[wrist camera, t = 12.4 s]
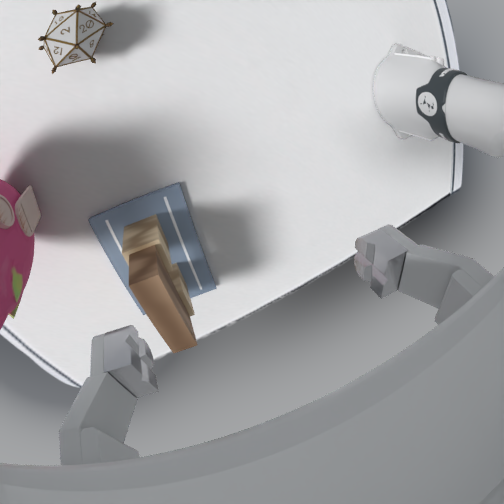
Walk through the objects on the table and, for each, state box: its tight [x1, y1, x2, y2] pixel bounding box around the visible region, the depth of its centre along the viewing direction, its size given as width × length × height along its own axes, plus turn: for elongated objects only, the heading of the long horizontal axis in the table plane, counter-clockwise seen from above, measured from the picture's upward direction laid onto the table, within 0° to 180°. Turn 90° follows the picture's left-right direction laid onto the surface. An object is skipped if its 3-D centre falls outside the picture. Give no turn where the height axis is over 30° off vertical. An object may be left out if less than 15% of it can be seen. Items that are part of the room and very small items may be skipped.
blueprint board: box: [89, 182, 216, 315], centre depth 42 cm, size 14×20×1 cm
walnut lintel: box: [129, 245, 197, 353], centre depth 34 cm, size 4×13×6 cm, turn 11°
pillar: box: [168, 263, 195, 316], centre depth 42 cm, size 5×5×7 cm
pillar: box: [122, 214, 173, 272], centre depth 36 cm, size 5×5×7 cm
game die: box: [38, 2, 114, 74], centre depth 19 cm, size 9×8×10 cm
